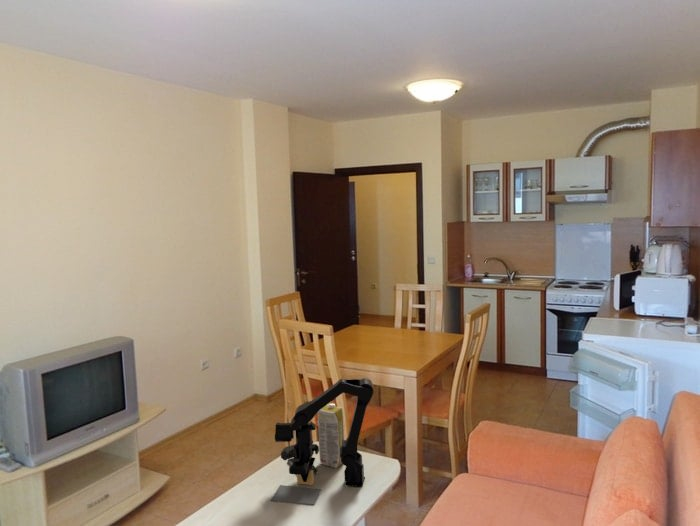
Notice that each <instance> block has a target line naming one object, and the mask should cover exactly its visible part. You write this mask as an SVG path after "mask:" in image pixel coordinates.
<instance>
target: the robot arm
mask: <svg viewBox="0 0 700 526" xmlns="http://www.w3.org/2000/svg"><path fill="white" fill-rule="evenodd" d="M342 394H348V395H351V396H353V397H356V402H355V407H354V412H353V415H352V419H351V423H350V428H349V431H348V435H347V438H346V439H344V440H343V439H342V446H341V447H340V457H341V462H342V465H343V466H345V469H344V471H343V473H344V482H345V483H344V486H348V487H358V488H359V487H360V488H362V487H363V486H364V483H365V480H366V476H365V467H364V464H363V456H362V454H361V453H359V452H358V442H359V438H360V434H361V429H362V427H363V422H364V418H365V415H366V414H365V413H366V410H367V407H368V405H369V404H370V402H371V400H372V397H373V395H374V385H373V382H372V380H371V379H369V378H365V377H363V378H361V379H360V378H339V379H338V380H337V382H335V383H334V384H333V385H332V386H330V387H328V388H327V389H326V390H324V391H323V392H322V393H321V394H319V395H317V397H315V398H314V399H312V400H310V401H307V402H304V403H302V404H300V405H299V406H297V407H296V409H295V412H294V416H293V417H292V418H291V421H290V422H276V423H275V432H274V433H275V434H274V441H275V443H282V442H283V443H287V442H288V443H290V442H292V440H293V439H294V440H295V444H291V445H289V446H285V447H284V448H283V449H282V450H281V452H280V458H281V459H282V460H283V461H288V459H291V458H294V459H299V460H298V462H295V461H294V462H293V463H292V464H291V466H290V465H289V468H288V473H289V474H290V475H296V476H297V475H301V477H302V479H303V482H306V481H307V478H308V475H309V472H310V470H311V469H312V466H313V465H314V464H315V461H316V457H313V455H314V453H315V455H318V454H319V444H317V443H316V444H315V443H314V440H312V431H315V430H316V427H317V424H316V423H314V422H313V421H312V419H313V418H314V417H315V416H316V415H317V414H318V411H319V410H320V409H322V408H323V407H324V406H326V405H327V404H328V405H329V404H331V402H332V401H334V400H336V399H337V398H338V397H339V396H341V395H342Z"/></svg>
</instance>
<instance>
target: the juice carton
mask: <svg viewBox="0 0 700 526" xmlns="http://www.w3.org/2000/svg"><path fill="white" fill-rule="evenodd" d="M344 420H345V419H344V411H343V407H341V406H336V404H335V403H328V404H327V405H326V406H324V407H323V408H322V409H320V410H319V411H318V412H317V426H318V429H317V431H318V446H319V452H318V454H319V462H320V464H321V465H324V466H327V467H331V468H334V469H336V468H338V467H340V465H343V463H342V462H341V457H340V447H341V446H342V439H343V440H345V425H344V424H345V422H344Z"/></svg>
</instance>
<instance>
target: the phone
mask: <svg viewBox="0 0 700 526" xmlns="http://www.w3.org/2000/svg"><path fill="white" fill-rule="evenodd" d="M298 460H299V459H294V457H293V458H290V459H287V463H288V464H289V467H290V466H291V464H292V463H293V462H294V461H295V462H298ZM311 470H313V473H314V475H316V474H317V475H318V473H319V471H318V469H317V468H316V467H315V465H314V464H313V466H312V469H311Z"/></svg>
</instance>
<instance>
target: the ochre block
mask: <svg viewBox="0 0 700 526" xmlns="http://www.w3.org/2000/svg"><path fill="white" fill-rule="evenodd" d="M314 476H315V474H314V473H313V470H310V472H309V475H308V478H307V481H306V482H303V479H302V477H301V475H297V474H296V480H297V481H296V483H297V484H301V485H310V486H311V485H313V486H314V484H315V477H314Z"/></svg>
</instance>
